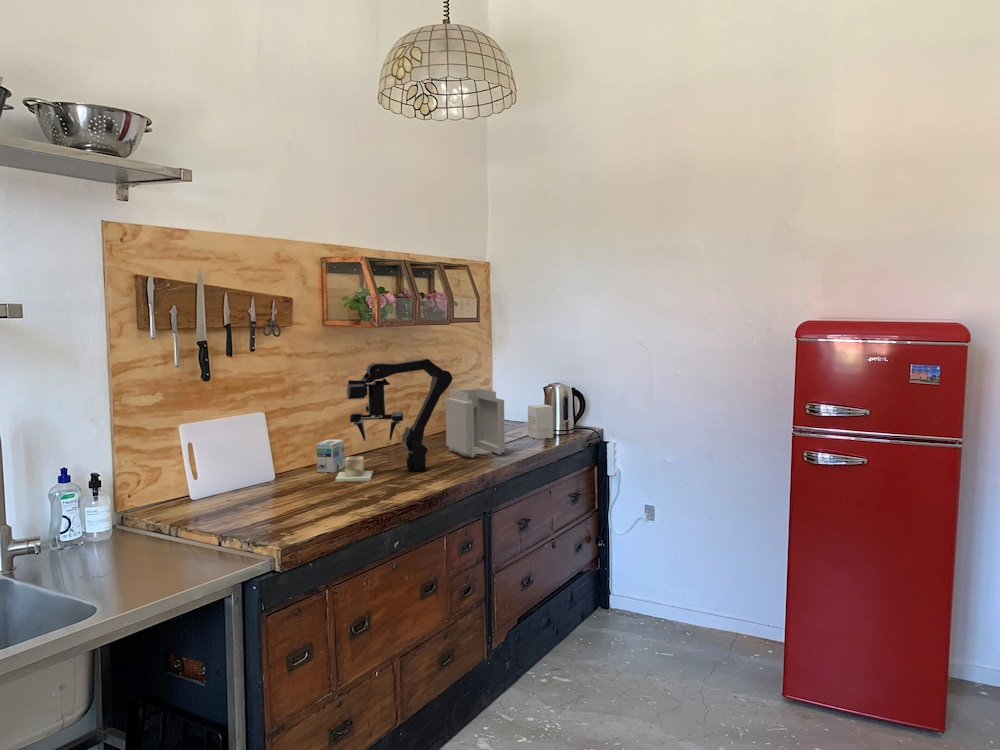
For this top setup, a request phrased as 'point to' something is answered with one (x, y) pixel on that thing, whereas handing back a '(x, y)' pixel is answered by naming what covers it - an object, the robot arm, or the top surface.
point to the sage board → (365, 477)
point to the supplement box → (540, 421)
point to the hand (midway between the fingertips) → (377, 440)
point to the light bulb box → (330, 455)
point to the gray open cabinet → (475, 422)
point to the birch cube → (354, 466)
